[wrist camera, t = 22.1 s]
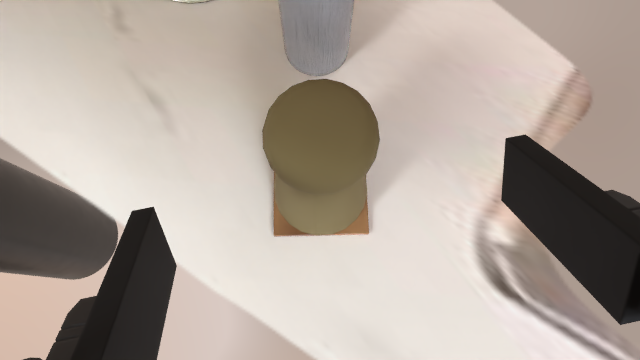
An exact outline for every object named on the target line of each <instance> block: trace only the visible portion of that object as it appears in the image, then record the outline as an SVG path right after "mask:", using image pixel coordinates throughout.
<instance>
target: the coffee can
mask: <svg viewBox="0 0 640 360" xmlns="http://www.w3.org/2000/svg"><path fill="white" fill-rule="evenodd" d="M173 1H178V2H185V3H199V2H207V1H211V0H173Z"/></svg>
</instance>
